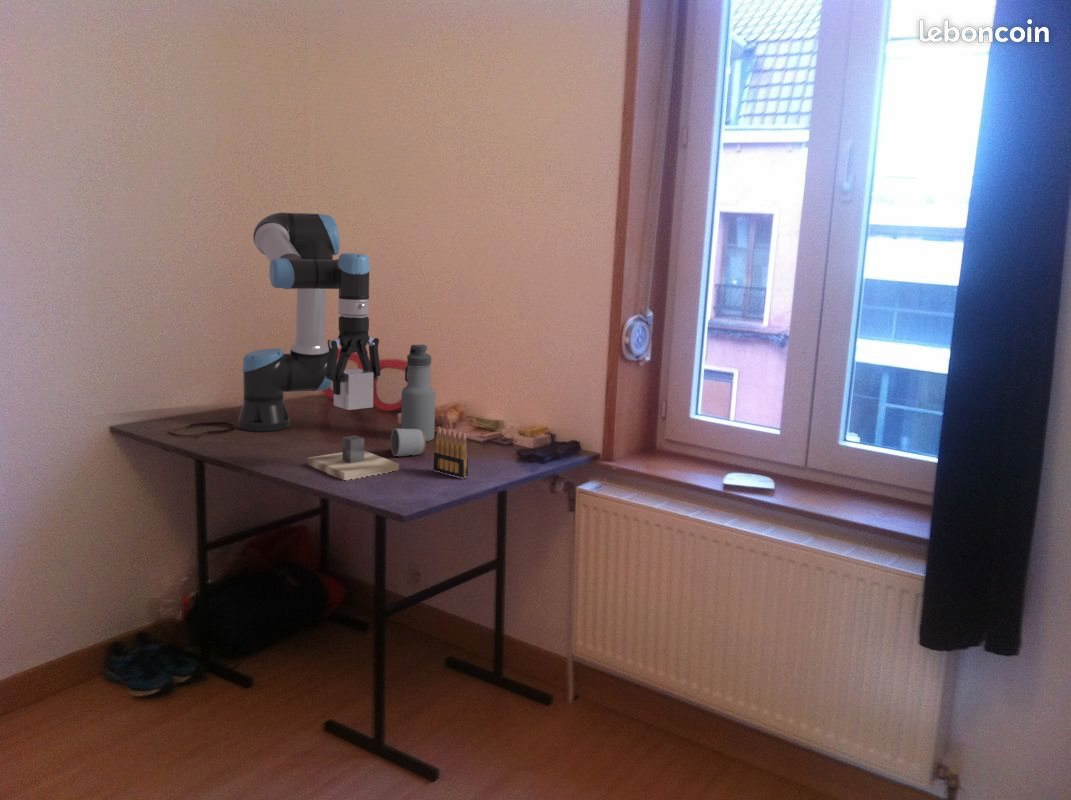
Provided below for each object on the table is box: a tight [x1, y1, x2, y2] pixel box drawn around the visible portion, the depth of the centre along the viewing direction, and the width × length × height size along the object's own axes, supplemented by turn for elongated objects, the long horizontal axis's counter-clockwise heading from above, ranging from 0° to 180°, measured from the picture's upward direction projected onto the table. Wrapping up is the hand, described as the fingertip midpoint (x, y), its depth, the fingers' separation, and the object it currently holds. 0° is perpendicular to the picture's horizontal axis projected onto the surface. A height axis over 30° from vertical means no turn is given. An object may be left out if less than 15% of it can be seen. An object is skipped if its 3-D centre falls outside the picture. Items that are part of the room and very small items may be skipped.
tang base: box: [307, 435, 400, 481], centre depth 236 cm, size 18×16×8 cm
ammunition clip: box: [432, 426, 469, 478], centre depth 233 cm, size 11×2×12 cm, turn 51°
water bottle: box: [400, 344, 436, 442], centre depth 269 cm, size 10×10×28 cm
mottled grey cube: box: [333, 368, 374, 411], centre depth 233 cm, size 7×7×9 cm
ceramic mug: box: [390, 428, 427, 457], centre depth 253 cm, size 11×8×8 cm
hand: (353, 405), depth 233 cm, fingers closed on mottled grey cube, 7 cm apart
